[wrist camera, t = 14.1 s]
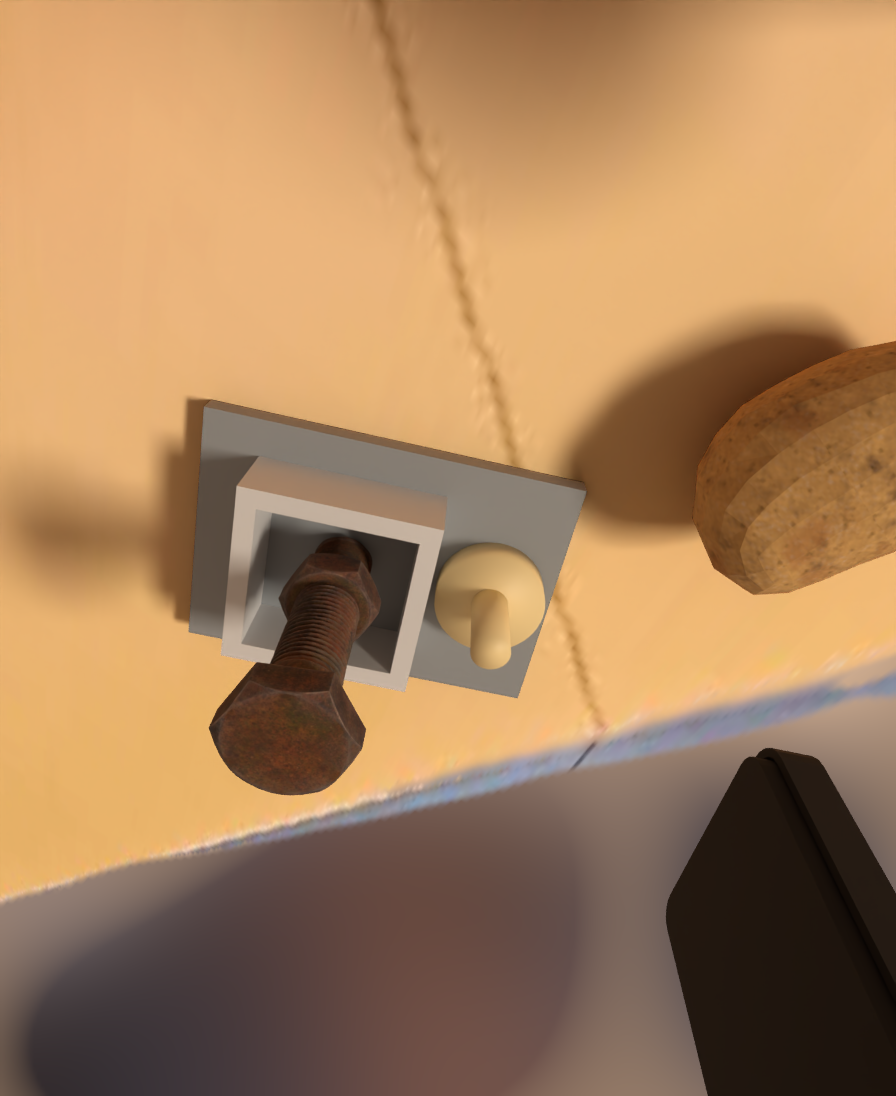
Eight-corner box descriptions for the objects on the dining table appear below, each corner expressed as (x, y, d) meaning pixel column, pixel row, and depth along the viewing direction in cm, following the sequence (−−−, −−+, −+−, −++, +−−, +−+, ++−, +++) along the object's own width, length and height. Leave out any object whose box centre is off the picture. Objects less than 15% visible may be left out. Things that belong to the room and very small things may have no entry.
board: (584, 482, 40) (604, 543, 33) (516, 685, 46) (522, 770, 40) (211, 399, 38) (157, 447, 32) (195, 620, 45) (148, 697, 38)
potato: (976, 420, 37) (1092, 480, 30) (731, 575, 42) (781, 659, 35) (886, 264, 34) (992, 291, 27) (631, 451, 39) (665, 515, 32)
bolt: (336, 493, 39) (267, 660, 26) (412, 547, 41) (383, 733, 27) (277, 568, 41) (185, 758, 28) (351, 616, 43) (297, 820, 29)
